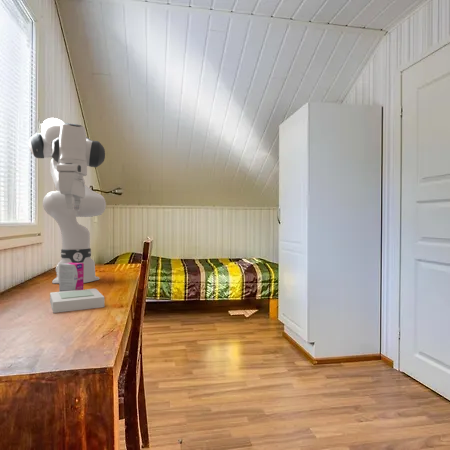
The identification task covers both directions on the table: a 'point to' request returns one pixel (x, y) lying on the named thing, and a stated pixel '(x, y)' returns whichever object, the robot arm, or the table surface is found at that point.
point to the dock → (76, 300)
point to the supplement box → (71, 276)
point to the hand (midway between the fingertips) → (73, 209)
